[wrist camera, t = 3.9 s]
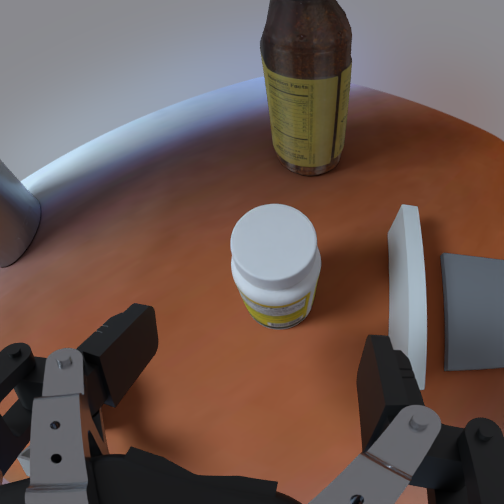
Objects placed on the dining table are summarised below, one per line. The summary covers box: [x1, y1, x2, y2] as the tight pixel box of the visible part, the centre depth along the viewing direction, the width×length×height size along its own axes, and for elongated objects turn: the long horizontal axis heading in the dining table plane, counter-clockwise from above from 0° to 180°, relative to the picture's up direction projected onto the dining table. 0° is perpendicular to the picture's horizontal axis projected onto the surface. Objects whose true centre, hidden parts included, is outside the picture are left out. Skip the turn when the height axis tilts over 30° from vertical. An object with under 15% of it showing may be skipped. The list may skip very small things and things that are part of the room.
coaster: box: [440, 253, 504, 371], centre depth 19 cm, size 9×9×1 cm
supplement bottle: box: [231, 204, 321, 329], centre depth 18 cm, size 5×5×8 cm
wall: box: [388, 204, 427, 390], centre depth 18 cm, size 1×12×4 cm, turn 170°
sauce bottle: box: [260, 0, 352, 176], centre depth 18 cm, size 7×6×20 cm
